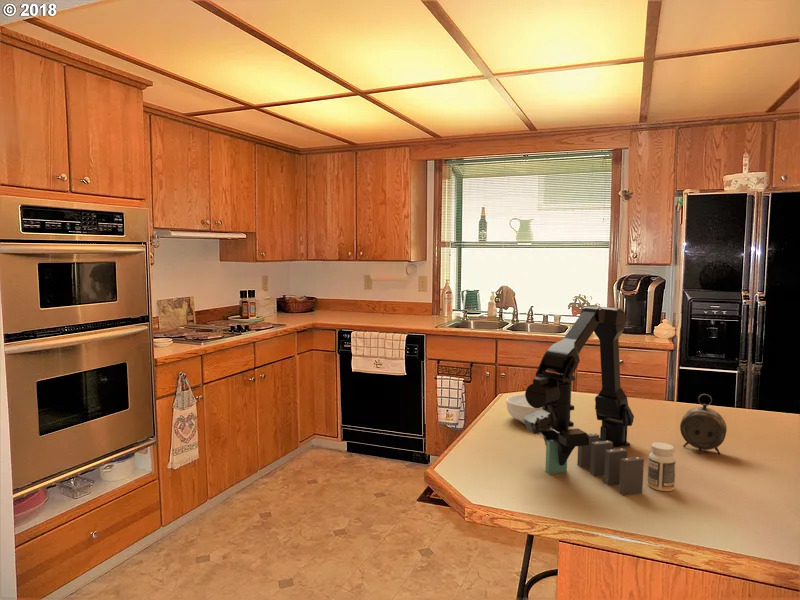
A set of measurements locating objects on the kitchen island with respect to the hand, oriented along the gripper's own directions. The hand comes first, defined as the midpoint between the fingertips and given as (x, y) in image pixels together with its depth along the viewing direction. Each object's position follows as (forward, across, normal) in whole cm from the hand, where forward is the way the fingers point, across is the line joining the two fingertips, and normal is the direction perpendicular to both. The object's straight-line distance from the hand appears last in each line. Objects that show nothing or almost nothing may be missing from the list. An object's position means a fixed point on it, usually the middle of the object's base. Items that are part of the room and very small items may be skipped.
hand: (556, 461), depth 137 cm
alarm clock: (+3, -2, +46) cm, 46 cm away
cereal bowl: (+3, -37, +14) cm, 40 cm away
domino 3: (+3, +4, +10) cm, 11 cm away
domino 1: (+3, 0, 0) cm, 3 cm away
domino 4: (+3, +10, +10) cm, 14 cm away
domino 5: (+3, +15, +10) cm, 18 cm away
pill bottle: (+3, +14, +19) cm, 24 cm away
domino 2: (+3, -2, +10) cm, 10 cm away
